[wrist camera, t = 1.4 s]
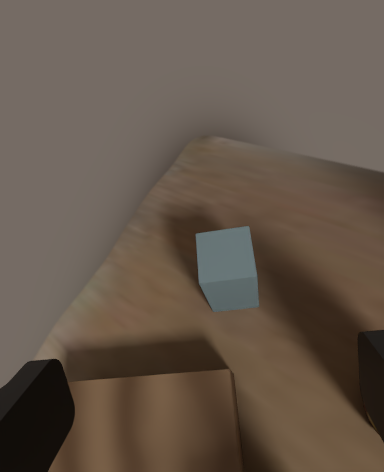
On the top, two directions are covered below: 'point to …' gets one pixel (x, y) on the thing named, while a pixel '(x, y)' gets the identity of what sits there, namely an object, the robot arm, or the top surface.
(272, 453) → the top surface
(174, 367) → the top surface
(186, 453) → the walnut block
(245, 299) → the slate block
